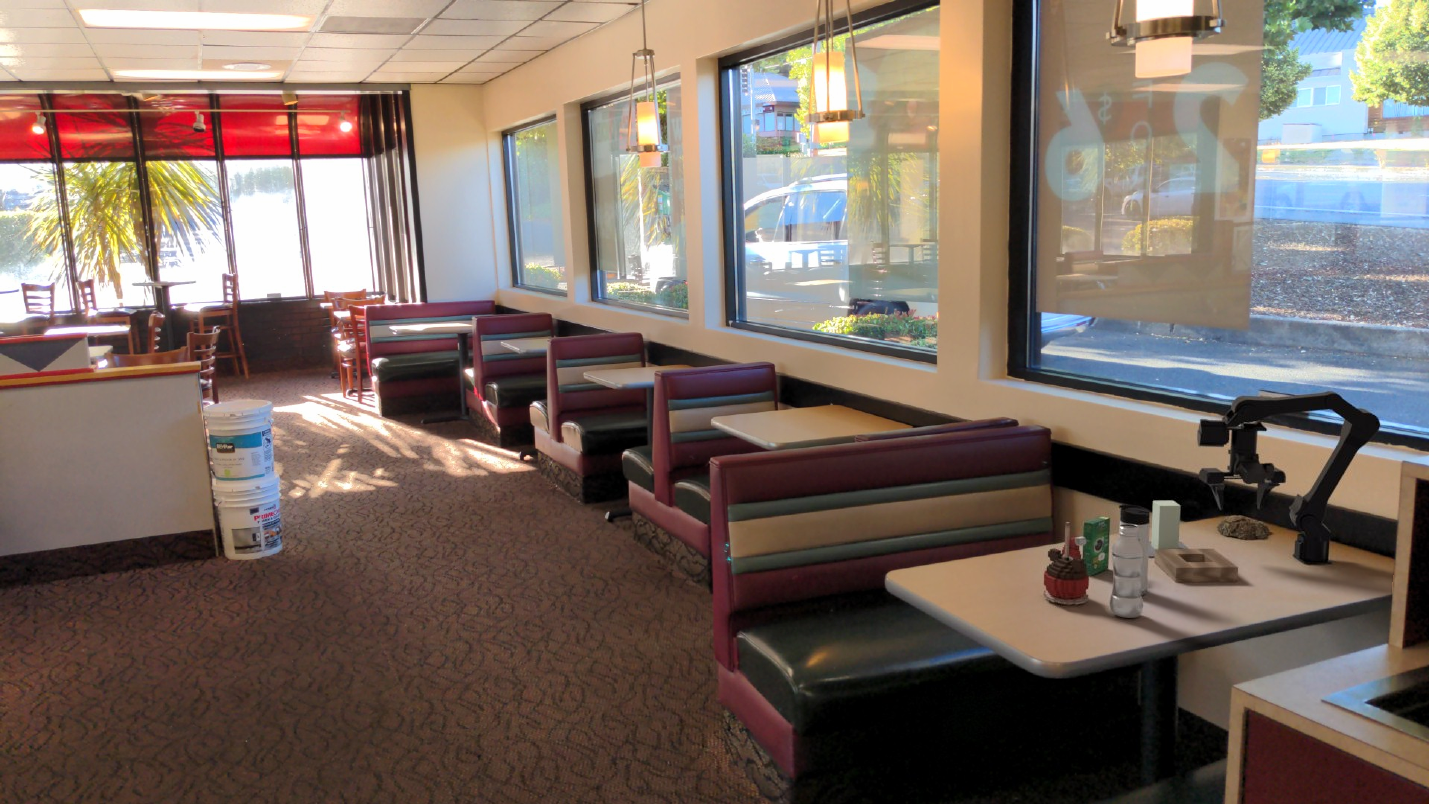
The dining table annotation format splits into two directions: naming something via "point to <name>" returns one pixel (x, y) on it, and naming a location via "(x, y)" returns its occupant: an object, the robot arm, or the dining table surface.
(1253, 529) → the brown rock
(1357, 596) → the dining table surface
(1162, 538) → the block
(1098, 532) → the coffee box
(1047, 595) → the cake
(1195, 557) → the holder
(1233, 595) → the dining table surface
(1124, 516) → the travel mug
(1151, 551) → the mat
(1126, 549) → the plastic bottle
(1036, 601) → the dining table surface
